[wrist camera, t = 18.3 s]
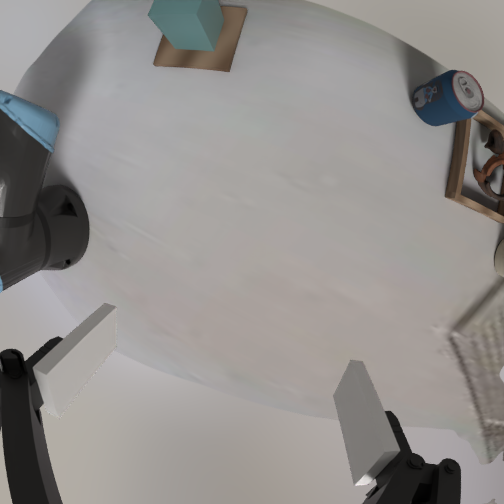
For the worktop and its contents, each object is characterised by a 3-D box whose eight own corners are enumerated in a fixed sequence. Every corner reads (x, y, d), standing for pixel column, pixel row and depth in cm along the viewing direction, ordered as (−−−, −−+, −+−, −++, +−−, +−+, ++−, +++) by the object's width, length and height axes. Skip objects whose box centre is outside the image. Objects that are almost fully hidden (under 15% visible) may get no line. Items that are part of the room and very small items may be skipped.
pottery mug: (508, 181, 37) (524, 201, 31) (470, 187, 42) (482, 208, 36) (502, 122, 32) (520, 134, 26) (460, 127, 37) (474, 140, 31)
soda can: (449, 118, 35) (494, 108, 24) (423, 133, 36) (466, 124, 25) (429, 81, 34) (469, 61, 22) (401, 94, 35) (440, 73, 24)
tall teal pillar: (175, 49, 34) (147, 15, 23) (186, 18, 33) (163, -20, 22) (214, 51, 34) (196, 14, 23) (224, 20, 33) (211, -22, 22)
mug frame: (444, 197, 39) (454, 198, 36) (458, 104, 34) (467, 101, 31) (497, 222, 39) (507, 224, 36) (510, 139, 34) (520, 138, 31)
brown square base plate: (155, 66, 36) (131, 45, 27) (176, 8, 33) (159, -20, 24) (229, 72, 36) (219, 47, 27) (247, 11, 33) (242, -20, 24)
